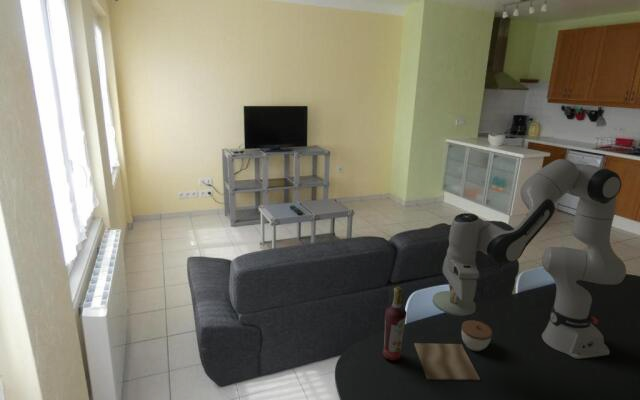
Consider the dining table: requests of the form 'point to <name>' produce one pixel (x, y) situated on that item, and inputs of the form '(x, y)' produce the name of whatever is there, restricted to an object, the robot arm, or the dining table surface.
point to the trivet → (445, 362)
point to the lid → (453, 304)
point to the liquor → (394, 327)
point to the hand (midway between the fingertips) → (454, 298)
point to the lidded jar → (476, 335)
